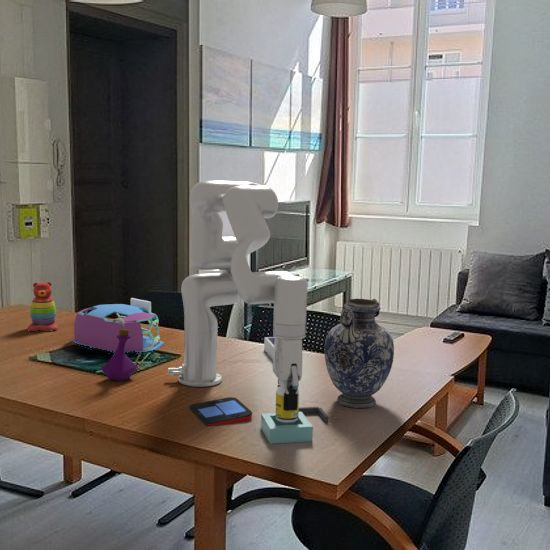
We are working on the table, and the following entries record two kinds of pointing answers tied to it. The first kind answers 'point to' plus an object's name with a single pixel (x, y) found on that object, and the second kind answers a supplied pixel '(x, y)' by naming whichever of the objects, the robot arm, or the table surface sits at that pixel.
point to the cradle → (315, 410)
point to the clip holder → (269, 346)
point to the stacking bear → (42, 308)
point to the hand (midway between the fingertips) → (287, 404)
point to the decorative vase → (359, 354)
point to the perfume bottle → (120, 358)
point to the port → (286, 429)
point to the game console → (221, 411)
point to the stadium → (117, 327)
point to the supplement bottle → (280, 412)
